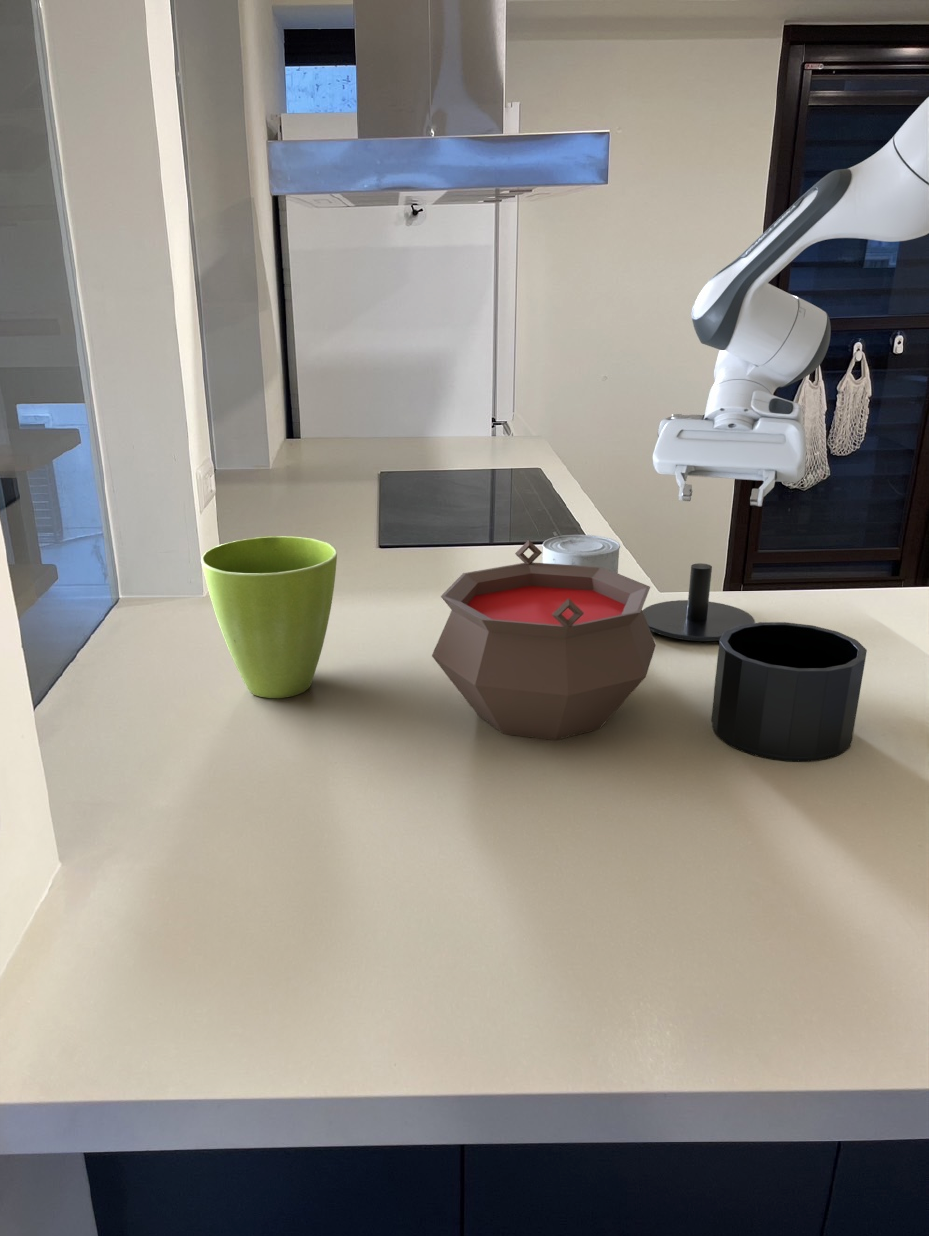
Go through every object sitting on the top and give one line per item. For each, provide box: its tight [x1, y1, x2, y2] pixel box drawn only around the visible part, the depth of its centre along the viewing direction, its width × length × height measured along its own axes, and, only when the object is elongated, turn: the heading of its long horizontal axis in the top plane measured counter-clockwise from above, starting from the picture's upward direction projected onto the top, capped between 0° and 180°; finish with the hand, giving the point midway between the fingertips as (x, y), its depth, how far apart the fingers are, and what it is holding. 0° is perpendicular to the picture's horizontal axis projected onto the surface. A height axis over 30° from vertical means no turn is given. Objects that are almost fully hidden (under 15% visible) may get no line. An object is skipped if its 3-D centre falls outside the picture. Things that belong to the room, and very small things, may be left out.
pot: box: [710, 621, 868, 763], centre depth 102 cm, size 14×14×10 cm
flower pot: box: [200, 535, 338, 699], centre depth 115 cm, size 15×15×16 cm
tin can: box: [542, 534, 621, 574], centre depth 128 cm, size 10×10×12 cm
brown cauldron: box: [431, 539, 657, 741], centre depth 107 cm, size 24×24×16 cm
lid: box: [642, 562, 756, 642], centre depth 132 cm, size 15×15×8 cm
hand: (719, 501), depth 137 cm, fingers open, 8 cm apart
